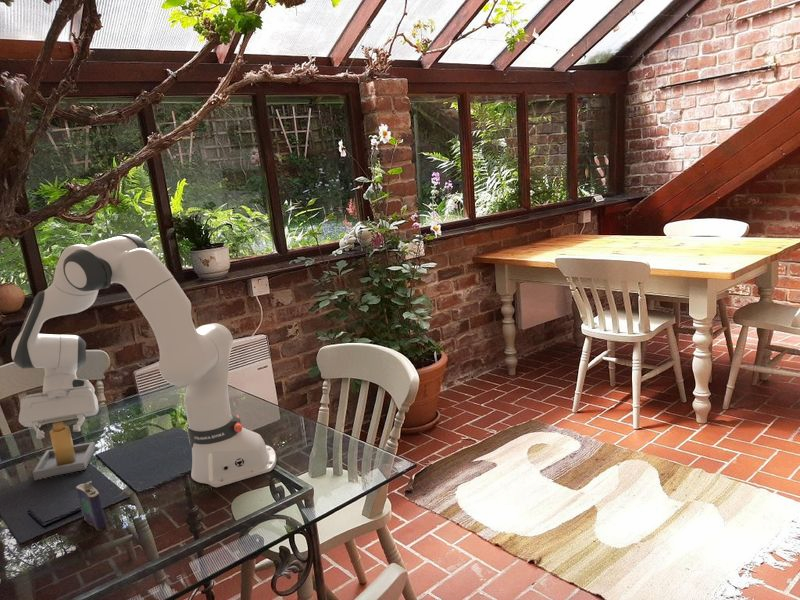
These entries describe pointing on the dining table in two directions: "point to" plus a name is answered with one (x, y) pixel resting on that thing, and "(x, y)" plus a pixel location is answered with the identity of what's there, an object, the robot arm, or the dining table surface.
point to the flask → (91, 506)
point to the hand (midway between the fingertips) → (58, 434)
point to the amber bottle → (62, 444)
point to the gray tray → (50, 467)
